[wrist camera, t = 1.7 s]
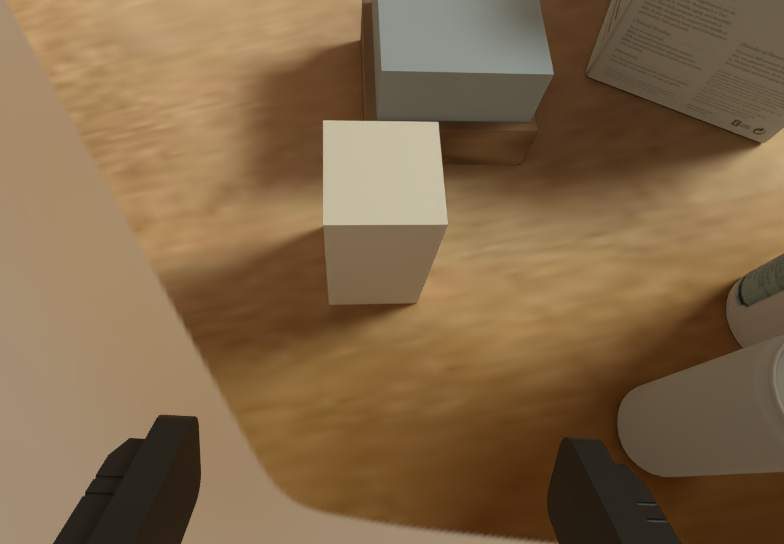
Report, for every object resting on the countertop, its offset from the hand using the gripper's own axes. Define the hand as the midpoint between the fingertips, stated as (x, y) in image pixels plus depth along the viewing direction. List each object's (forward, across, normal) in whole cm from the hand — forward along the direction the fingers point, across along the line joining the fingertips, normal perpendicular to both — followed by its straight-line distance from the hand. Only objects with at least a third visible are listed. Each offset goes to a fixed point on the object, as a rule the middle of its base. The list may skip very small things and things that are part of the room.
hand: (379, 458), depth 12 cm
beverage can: (+14, -16, +10) cm, 24 cm away
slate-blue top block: (+26, -4, -8) cm, 28 cm away
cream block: (+20, 0, +4) cm, 21 cm away
